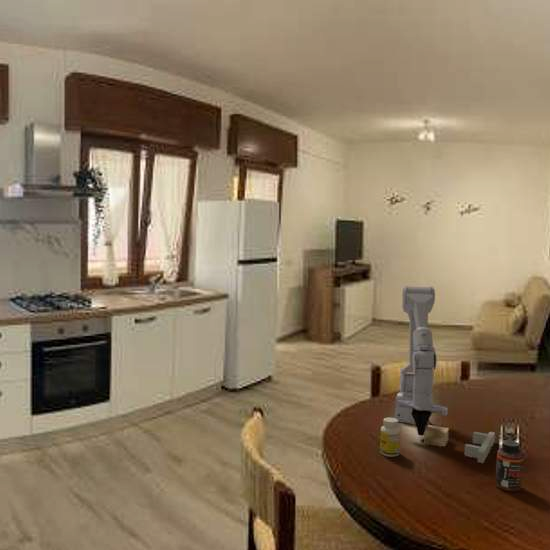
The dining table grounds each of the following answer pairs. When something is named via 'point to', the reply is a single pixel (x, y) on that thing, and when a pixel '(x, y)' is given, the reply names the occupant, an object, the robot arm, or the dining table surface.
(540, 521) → the dining table surface
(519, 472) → the supplement bottle
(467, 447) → the bracket
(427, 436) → the maple block
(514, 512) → the dining table surface
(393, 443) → the supplement bottle
